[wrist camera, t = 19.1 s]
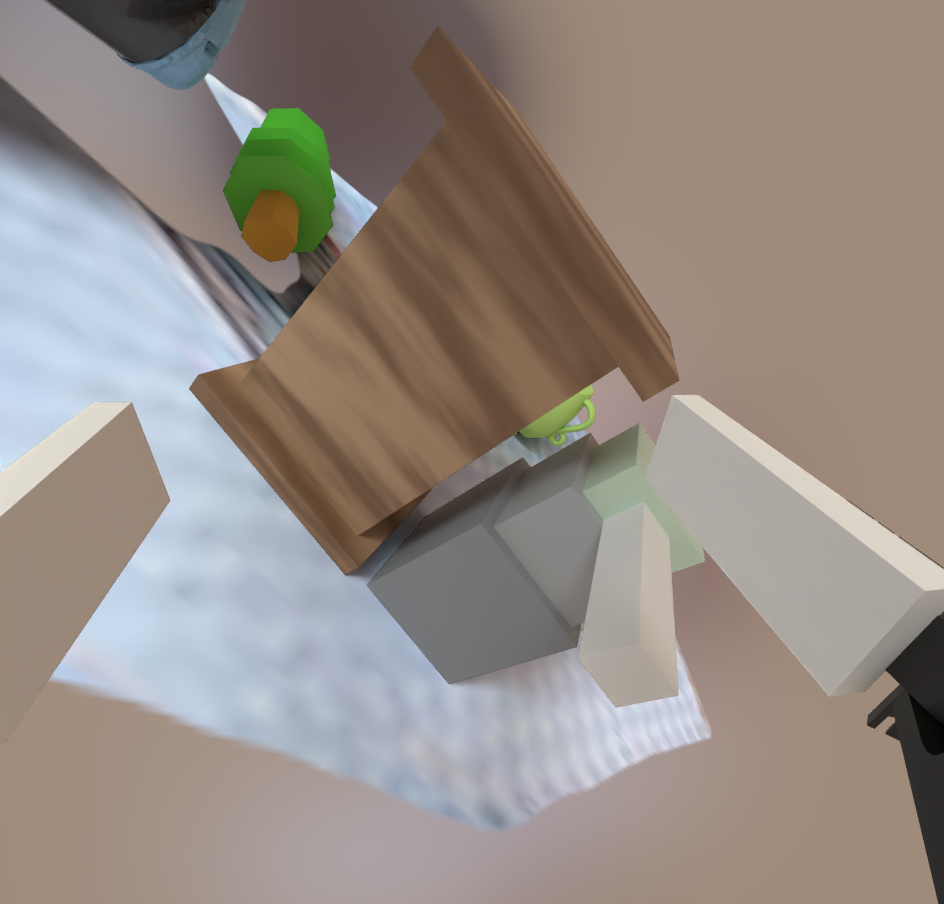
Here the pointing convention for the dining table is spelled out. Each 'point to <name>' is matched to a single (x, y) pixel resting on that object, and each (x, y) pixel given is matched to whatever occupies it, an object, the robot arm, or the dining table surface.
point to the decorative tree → (282, 186)
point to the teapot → (562, 418)
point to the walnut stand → (437, 327)
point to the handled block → (633, 576)
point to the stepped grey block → (499, 568)
